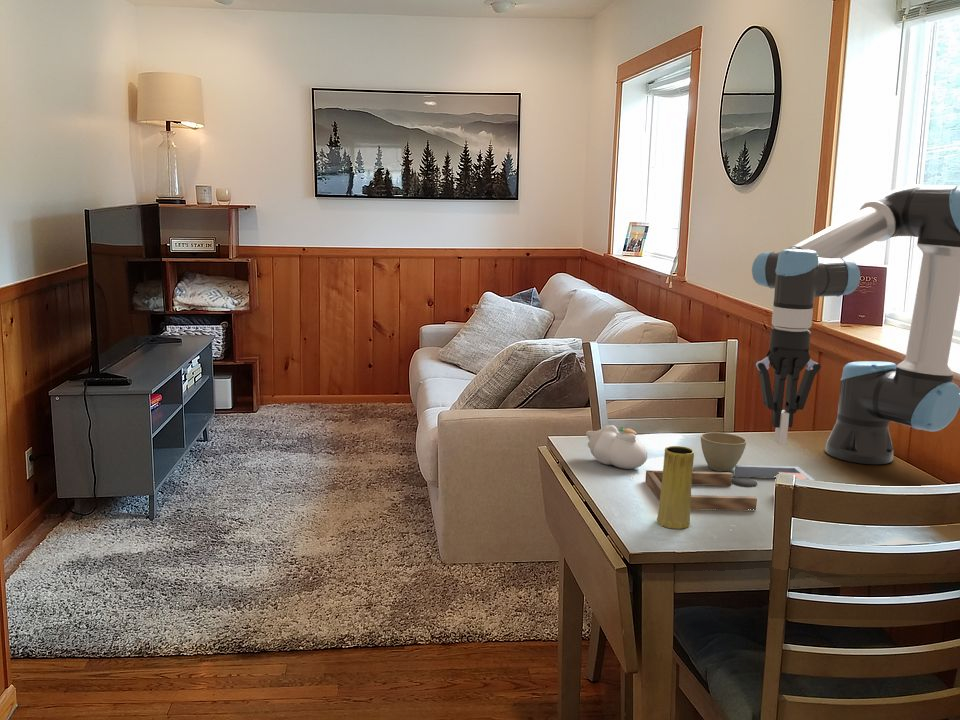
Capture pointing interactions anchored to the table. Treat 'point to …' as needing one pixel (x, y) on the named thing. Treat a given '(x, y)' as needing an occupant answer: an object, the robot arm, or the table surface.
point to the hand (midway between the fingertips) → (780, 442)
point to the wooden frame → (706, 500)
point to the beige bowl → (722, 450)
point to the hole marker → (744, 482)
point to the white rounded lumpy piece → (617, 447)
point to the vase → (676, 488)
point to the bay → (766, 471)
